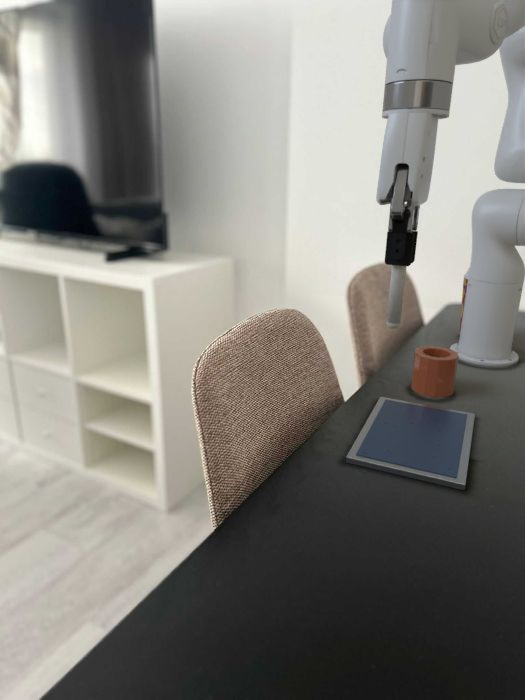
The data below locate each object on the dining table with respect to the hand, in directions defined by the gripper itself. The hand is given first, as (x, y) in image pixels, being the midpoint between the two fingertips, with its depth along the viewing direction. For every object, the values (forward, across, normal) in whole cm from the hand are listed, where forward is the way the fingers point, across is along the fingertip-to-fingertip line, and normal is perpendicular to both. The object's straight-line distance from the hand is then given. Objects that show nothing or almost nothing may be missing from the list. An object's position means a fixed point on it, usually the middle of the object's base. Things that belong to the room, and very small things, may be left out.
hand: (399, 262), depth 65 cm
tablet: (+24, +1, +5) cm, 24 cm away
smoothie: (+23, -50, +10) cm, 56 cm away
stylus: (+9, 0, 0) cm, 9 cm away
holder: (+23, -16, +5) cm, 29 cm away
